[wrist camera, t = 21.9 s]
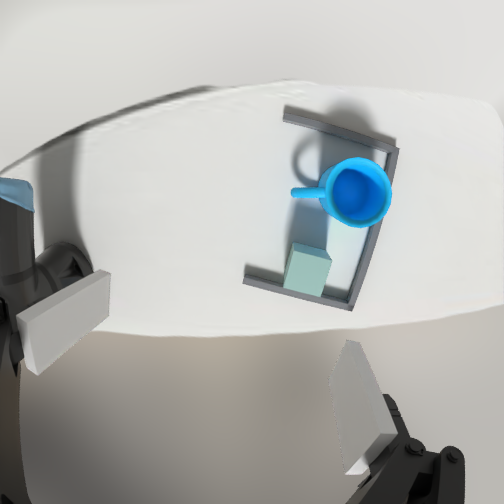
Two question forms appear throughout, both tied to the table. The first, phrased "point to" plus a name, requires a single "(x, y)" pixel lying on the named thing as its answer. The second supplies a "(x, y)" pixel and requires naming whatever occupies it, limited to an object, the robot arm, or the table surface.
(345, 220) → the mug
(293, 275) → the block
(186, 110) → the table surface
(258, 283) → the tray frame
